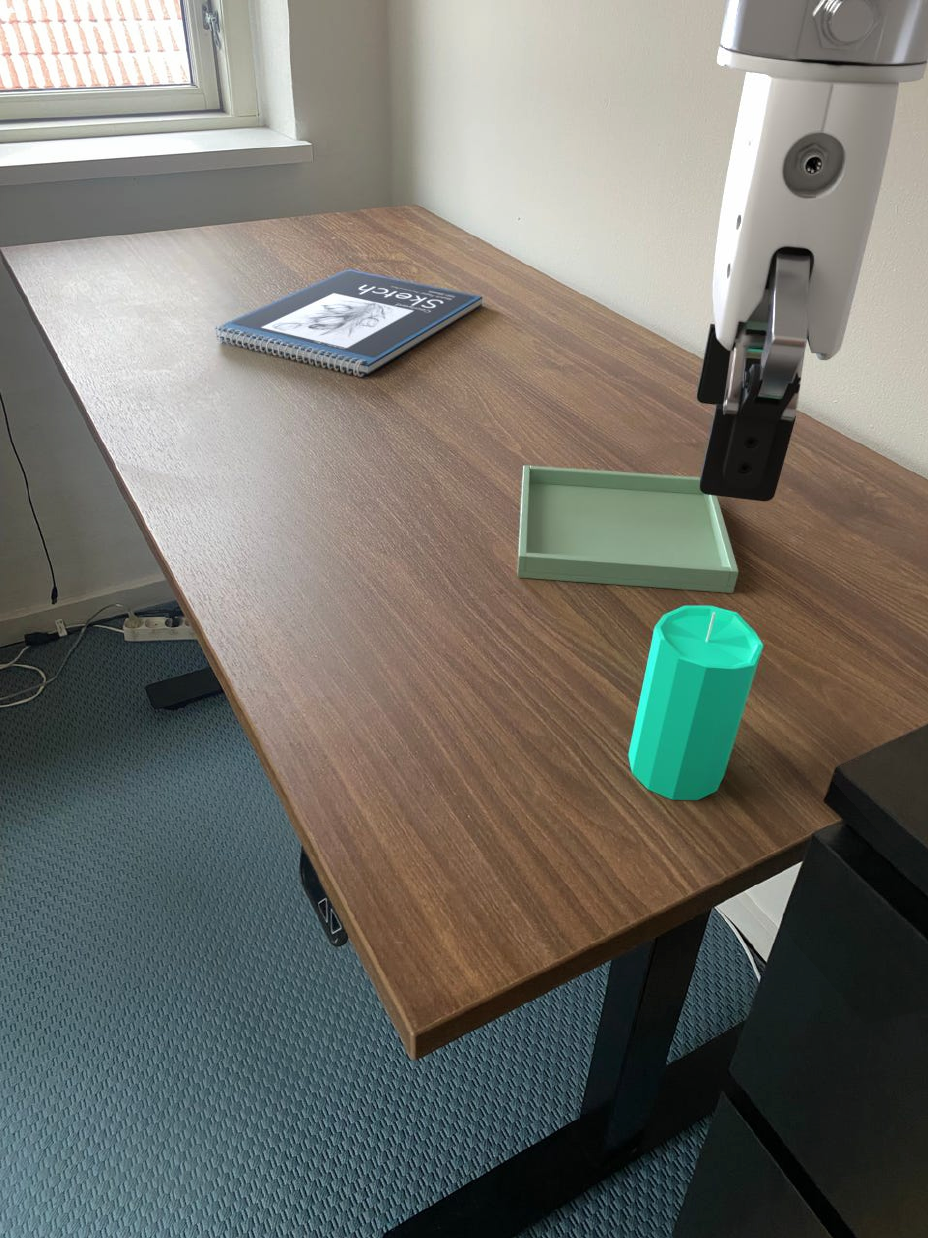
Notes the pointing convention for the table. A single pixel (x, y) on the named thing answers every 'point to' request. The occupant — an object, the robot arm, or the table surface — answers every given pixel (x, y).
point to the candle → (692, 700)
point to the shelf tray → (623, 530)
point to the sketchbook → (350, 321)
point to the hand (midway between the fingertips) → (730, 445)
